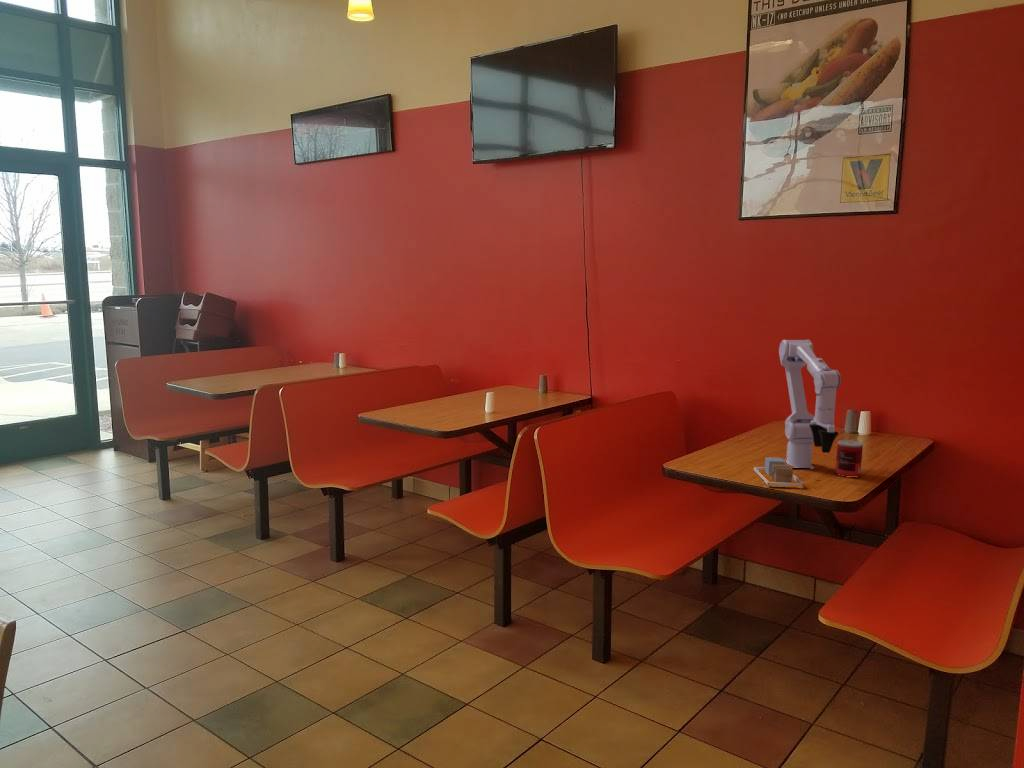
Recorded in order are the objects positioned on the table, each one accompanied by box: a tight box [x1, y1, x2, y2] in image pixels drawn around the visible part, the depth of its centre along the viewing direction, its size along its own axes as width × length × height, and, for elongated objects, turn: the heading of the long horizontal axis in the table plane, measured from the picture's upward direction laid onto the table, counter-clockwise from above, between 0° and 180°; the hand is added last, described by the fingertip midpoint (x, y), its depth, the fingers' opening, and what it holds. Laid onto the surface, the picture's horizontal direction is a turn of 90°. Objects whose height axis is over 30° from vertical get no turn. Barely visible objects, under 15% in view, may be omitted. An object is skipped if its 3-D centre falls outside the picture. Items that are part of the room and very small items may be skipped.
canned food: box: [835, 439, 864, 477], centre depth 256 cm, size 8×8×11 cm
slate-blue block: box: [764, 456, 786, 475], centre depth 255 cm, size 5×5×5 cm
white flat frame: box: [752, 466, 805, 488], centre depth 251 cm, size 18×11×2 cm, turn 176°
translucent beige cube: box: [771, 464, 794, 483], centre depth 246 cm, size 5×5×5 cm
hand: (821, 449), depth 250 cm, fingers open, 7 cm apart
